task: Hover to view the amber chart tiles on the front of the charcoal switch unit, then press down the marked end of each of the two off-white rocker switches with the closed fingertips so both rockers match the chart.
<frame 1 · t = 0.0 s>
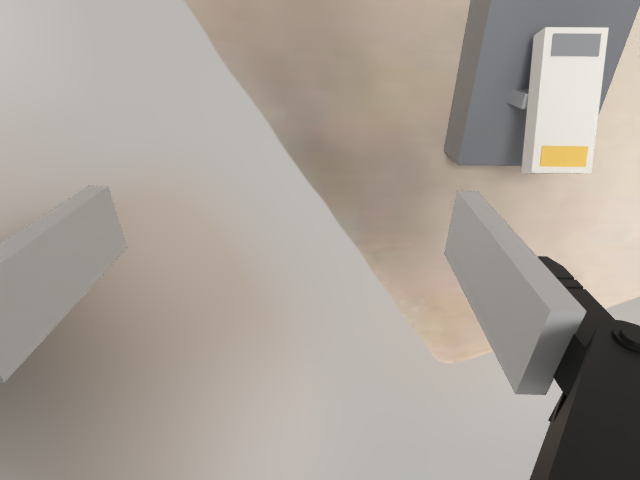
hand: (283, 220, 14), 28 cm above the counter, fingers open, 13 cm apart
switch unit: (534, 7, 34), on the counter
rocker 1: (563, 104, 29), point 9 cm above the counter, hinge at -22.0°
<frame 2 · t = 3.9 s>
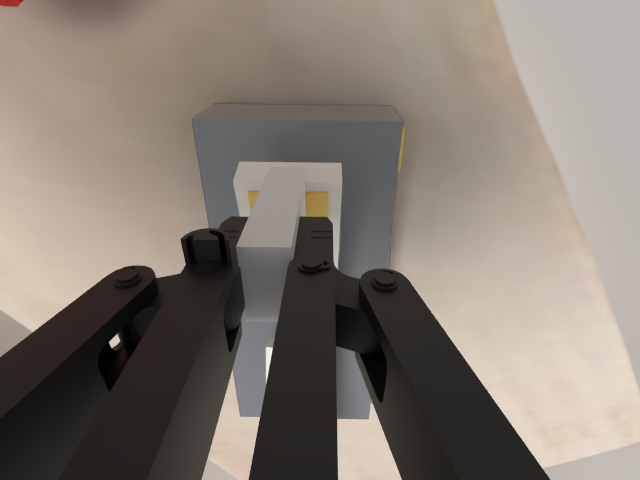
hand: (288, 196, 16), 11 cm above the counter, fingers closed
switch unit: (305, 268, 32), on the counter
rocker 1: (299, 413, 27), point 9 cm above the counter, hinge at -22.0°
rocker 2: (294, 256, 20), point 9 cm above the counter, hinge at 14.1°, touching gripper
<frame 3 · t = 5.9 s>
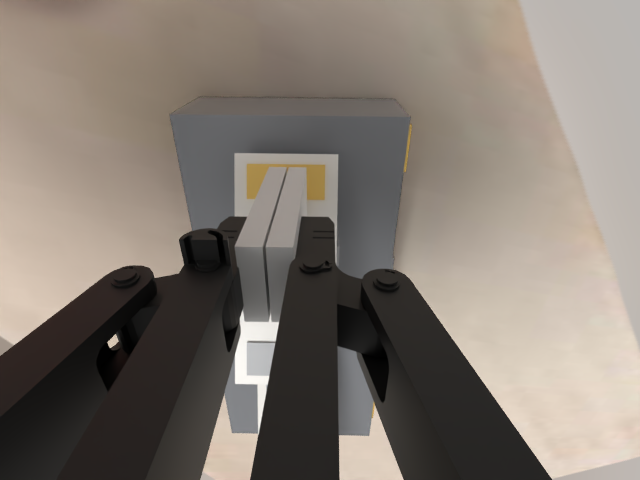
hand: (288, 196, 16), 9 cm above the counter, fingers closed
switch unit: (301, 275, 29), on the counter
rocker 1: (294, 435, 25), point 9 cm above the counter, hinge at -22.0°
rocker 2: (287, 269, 18), point 9 cm above the counter, hinge at -26.8°, touching gripper
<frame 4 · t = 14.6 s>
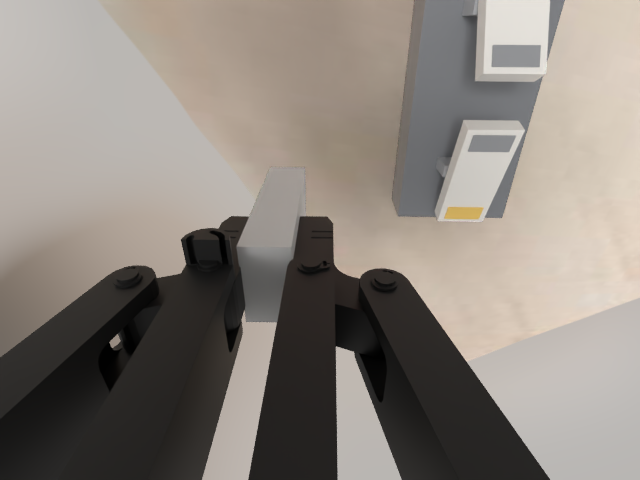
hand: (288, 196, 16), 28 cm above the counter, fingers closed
switch unit: (459, 85, 40), on the counter
rocker 1: (474, 176, 36), point 9 cm above the counter, hinge at 17.7°
rocker 2: (513, 5, 28), point 9 cm above the counter, hinge at -26.6°
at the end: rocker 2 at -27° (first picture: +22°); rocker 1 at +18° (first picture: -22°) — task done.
